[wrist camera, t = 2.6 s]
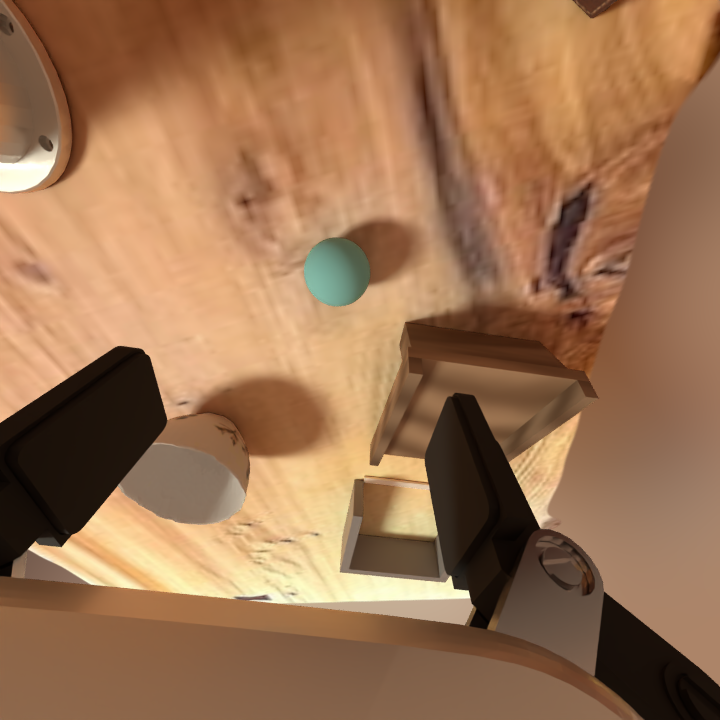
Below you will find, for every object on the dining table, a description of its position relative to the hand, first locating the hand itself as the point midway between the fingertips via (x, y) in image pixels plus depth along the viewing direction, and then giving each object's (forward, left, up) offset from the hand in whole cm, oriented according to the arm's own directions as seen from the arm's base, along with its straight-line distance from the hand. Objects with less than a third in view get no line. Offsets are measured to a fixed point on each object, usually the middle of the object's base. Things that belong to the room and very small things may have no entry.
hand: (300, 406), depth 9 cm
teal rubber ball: (0, 0, -18) cm, 18 cm away
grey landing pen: (+35, +13, -18) cm, 41 cm away
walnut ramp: (+12, +13, -18) cm, 25 cm away
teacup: (+22, -14, -18) cm, 32 cm away
